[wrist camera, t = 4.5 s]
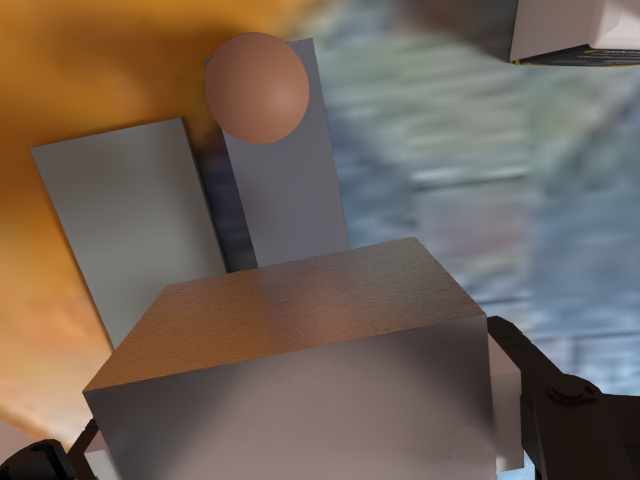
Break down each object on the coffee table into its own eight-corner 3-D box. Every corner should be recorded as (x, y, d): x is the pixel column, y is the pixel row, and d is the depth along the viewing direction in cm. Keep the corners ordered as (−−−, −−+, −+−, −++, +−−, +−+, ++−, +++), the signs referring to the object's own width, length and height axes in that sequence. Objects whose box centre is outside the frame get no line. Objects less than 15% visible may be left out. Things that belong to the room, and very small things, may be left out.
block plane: (363, 347, 29) (394, 464, 19) (296, 360, 29) (295, 483, 19) (309, 53, 22) (316, 10, 13) (223, 70, 22) (168, 42, 13)
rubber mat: (250, 345, 28) (249, 350, 28) (128, 368, 28) (125, 374, 28) (183, 116, 23) (180, 117, 22) (35, 147, 23) (28, 148, 23)
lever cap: (434, 392, 14) (500, 533, 9) (217, 432, 14) (175, 592, 9) (414, 236, 12) (486, 314, 7) (166, 285, 12) (81, 391, 8)
